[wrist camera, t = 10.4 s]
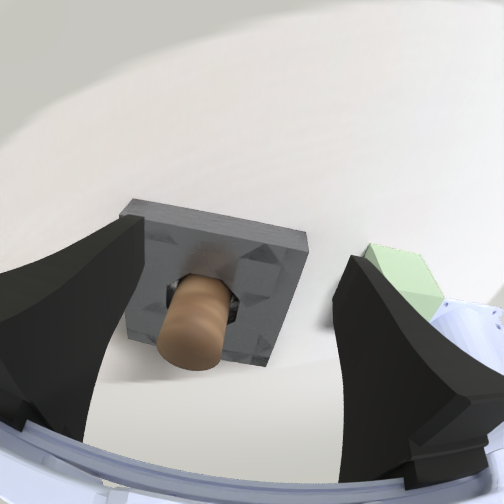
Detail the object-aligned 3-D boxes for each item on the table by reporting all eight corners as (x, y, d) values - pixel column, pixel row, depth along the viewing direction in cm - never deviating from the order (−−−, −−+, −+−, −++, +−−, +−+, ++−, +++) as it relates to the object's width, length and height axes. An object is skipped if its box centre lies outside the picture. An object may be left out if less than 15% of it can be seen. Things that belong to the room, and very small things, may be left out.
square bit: (420, 254, 22) (445, 298, 18) (396, 298, 25) (413, 344, 21) (369, 242, 22) (388, 288, 18) (348, 290, 24) (359, 338, 20)
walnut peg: (240, 267, 24) (227, 341, 18) (226, 305, 26) (213, 376, 20) (187, 251, 23) (159, 321, 17) (178, 291, 25) (154, 360, 20)
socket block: (306, 232, 22) (309, 251, 20) (266, 345, 28) (265, 367, 26) (132, 198, 21) (119, 214, 19) (136, 319, 28) (127, 338, 26)
